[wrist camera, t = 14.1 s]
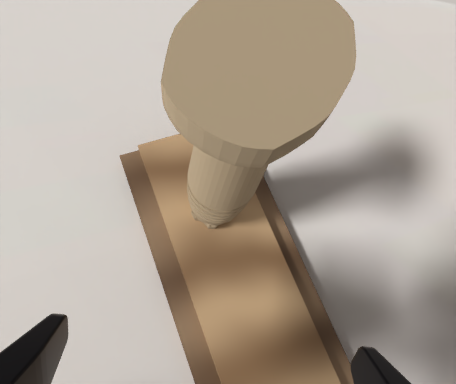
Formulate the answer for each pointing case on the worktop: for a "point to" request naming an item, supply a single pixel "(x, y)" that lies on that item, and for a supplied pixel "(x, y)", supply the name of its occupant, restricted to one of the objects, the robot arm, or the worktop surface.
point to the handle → (251, 90)
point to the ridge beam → (232, 281)
